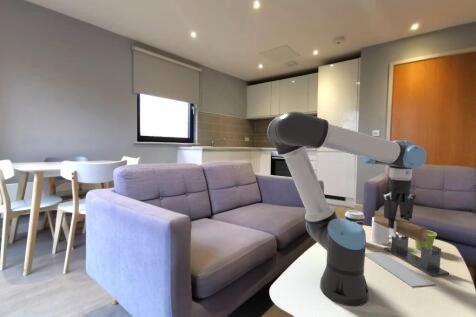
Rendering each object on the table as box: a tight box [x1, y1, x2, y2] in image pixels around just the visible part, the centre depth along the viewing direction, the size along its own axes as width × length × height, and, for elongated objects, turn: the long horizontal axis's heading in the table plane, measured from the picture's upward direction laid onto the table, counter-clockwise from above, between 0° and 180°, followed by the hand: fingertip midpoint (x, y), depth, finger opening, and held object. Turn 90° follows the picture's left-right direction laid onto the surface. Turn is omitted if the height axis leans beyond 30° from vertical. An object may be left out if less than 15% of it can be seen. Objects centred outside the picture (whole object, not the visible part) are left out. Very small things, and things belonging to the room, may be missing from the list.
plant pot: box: [414, 229, 438, 251], centre depth 117 cm, size 9×9×9 cm
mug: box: [370, 216, 392, 245], centre depth 125 cm, size 12×8×12 cm
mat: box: [365, 251, 437, 288], centre depth 99 cm, size 10×26×1 cm, turn 10°
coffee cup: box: [344, 209, 366, 227], centre depth 126 cm, size 10×10×15 cm
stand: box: [383, 233, 450, 278], centre depth 105 cm, size 8×24×9 cm, turn 10°
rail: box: [373, 210, 428, 242], centre depth 98 cm, size 3×22×5 cm, turn 9°
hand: (396, 235), depth 98 cm, fingers closed on rail, 3 cm apart
